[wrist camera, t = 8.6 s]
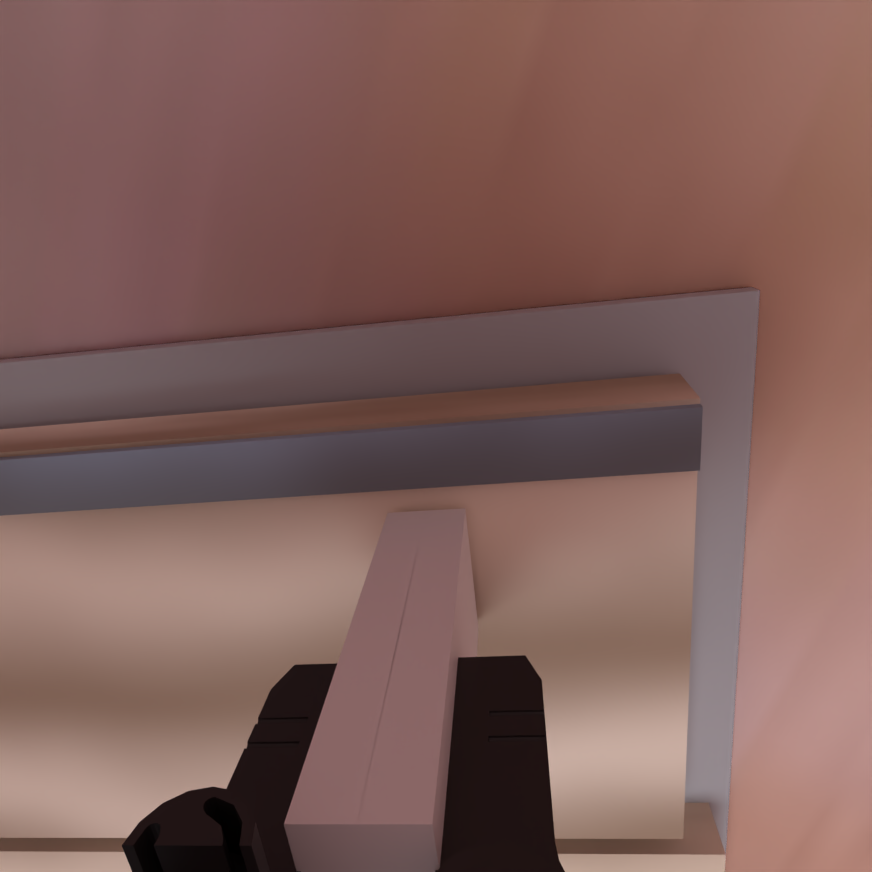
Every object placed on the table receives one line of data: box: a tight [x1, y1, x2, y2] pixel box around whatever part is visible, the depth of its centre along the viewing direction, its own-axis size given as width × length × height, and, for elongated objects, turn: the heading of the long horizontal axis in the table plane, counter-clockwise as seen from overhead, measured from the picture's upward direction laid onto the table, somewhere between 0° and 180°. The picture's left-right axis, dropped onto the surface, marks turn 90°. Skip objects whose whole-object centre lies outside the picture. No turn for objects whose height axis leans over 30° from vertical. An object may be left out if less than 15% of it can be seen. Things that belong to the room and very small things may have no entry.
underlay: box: [0, 287, 760, 854], centre depth 18 cm, size 20×31×1 cm, turn 97°
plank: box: [0, 373, 703, 839], centre depth 16 cm, size 11×28×2 cm, turn 97°
